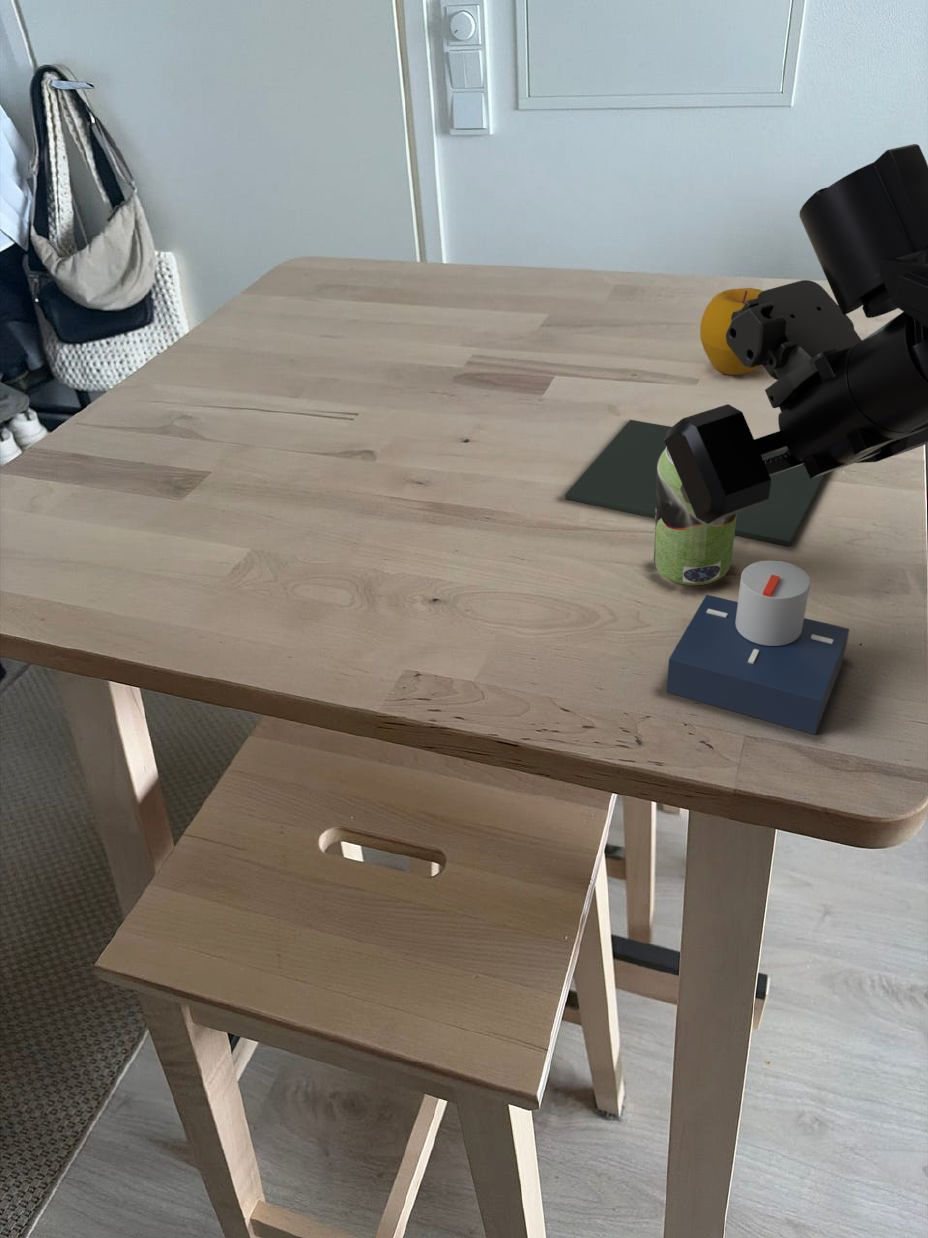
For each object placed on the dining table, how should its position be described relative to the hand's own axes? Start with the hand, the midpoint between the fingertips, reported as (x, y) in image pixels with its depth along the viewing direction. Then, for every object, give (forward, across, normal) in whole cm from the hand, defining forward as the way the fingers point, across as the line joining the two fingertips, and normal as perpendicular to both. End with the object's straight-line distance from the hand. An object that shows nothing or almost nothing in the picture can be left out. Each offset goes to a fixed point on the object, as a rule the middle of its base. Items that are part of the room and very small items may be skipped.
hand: (738, 476), depth 69 cm
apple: (+31, -28, -15) cm, 44 cm away
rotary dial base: (+2, +3, +13) cm, 13 cm away
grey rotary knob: (+1, +2, +10) cm, 11 cm away
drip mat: (+19, -10, -3) cm, 22 cm away
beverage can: (+11, 0, +5) cm, 12 cm away
